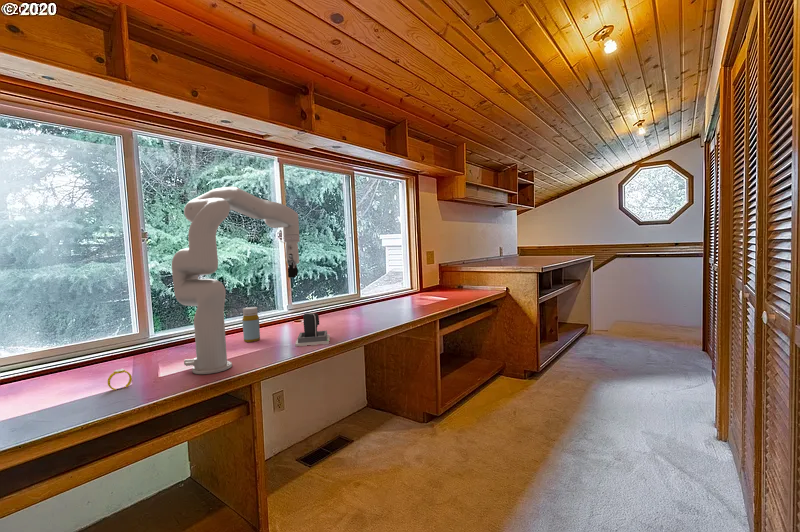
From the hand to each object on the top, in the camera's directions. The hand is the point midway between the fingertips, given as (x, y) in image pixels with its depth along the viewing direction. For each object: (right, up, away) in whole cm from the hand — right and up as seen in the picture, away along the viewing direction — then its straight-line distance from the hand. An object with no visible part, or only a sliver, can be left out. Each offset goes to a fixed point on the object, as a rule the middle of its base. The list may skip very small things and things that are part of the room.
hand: (293, 276), depth 180 cm
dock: (+11, -28, -7) cm, 31 cm away
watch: (-37, -33, -59) cm, 77 cm away
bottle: (-19, -29, 0) cm, 35 cm away
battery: (+11, -27, -7) cm, 30 cm away
